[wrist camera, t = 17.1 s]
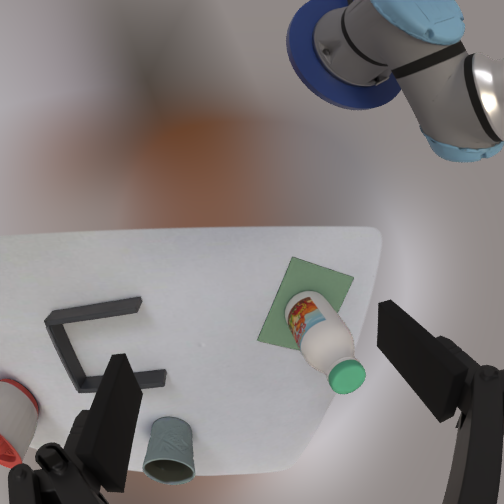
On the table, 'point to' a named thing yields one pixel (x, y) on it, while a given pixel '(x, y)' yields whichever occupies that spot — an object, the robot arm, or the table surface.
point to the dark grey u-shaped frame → (68, 355)
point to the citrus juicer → (16, 422)
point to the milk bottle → (324, 340)
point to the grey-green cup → (170, 452)
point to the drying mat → (295, 282)
